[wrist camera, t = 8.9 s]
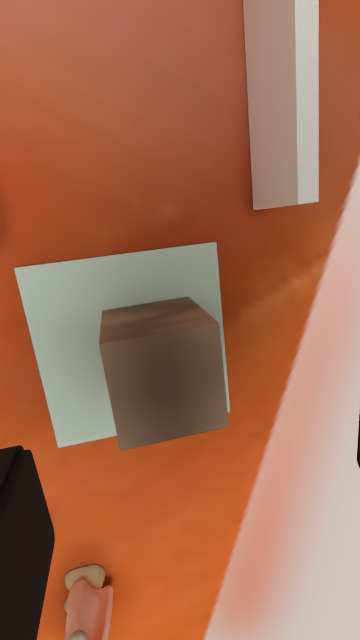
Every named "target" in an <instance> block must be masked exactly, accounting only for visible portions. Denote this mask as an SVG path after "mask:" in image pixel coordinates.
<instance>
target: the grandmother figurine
mask: <svg viewBox="0 0 360 640" xmlns="http://www.w3.org/2000/svg"><path fill="white" fill-rule="evenodd" d="M104 579H105V570H104V569H103V567H101V566H100V565H89V566H85V567H81V568H77V569H73V570H71V571H69V572H68V573H67V574H66V576H65V585H66V588H67V589H68V590H69V591H70V592H69V596H68V597H67V599H66V601H65V603H64V608H65V611H66V612H67V617H66V625H65V640H108V635H109V629H110V622H111V614H112V603H113V588H112V587H111V586H110V585H108V586H105V587H104V588H101V587H102V586H103V582H104Z"/></svg>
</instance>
